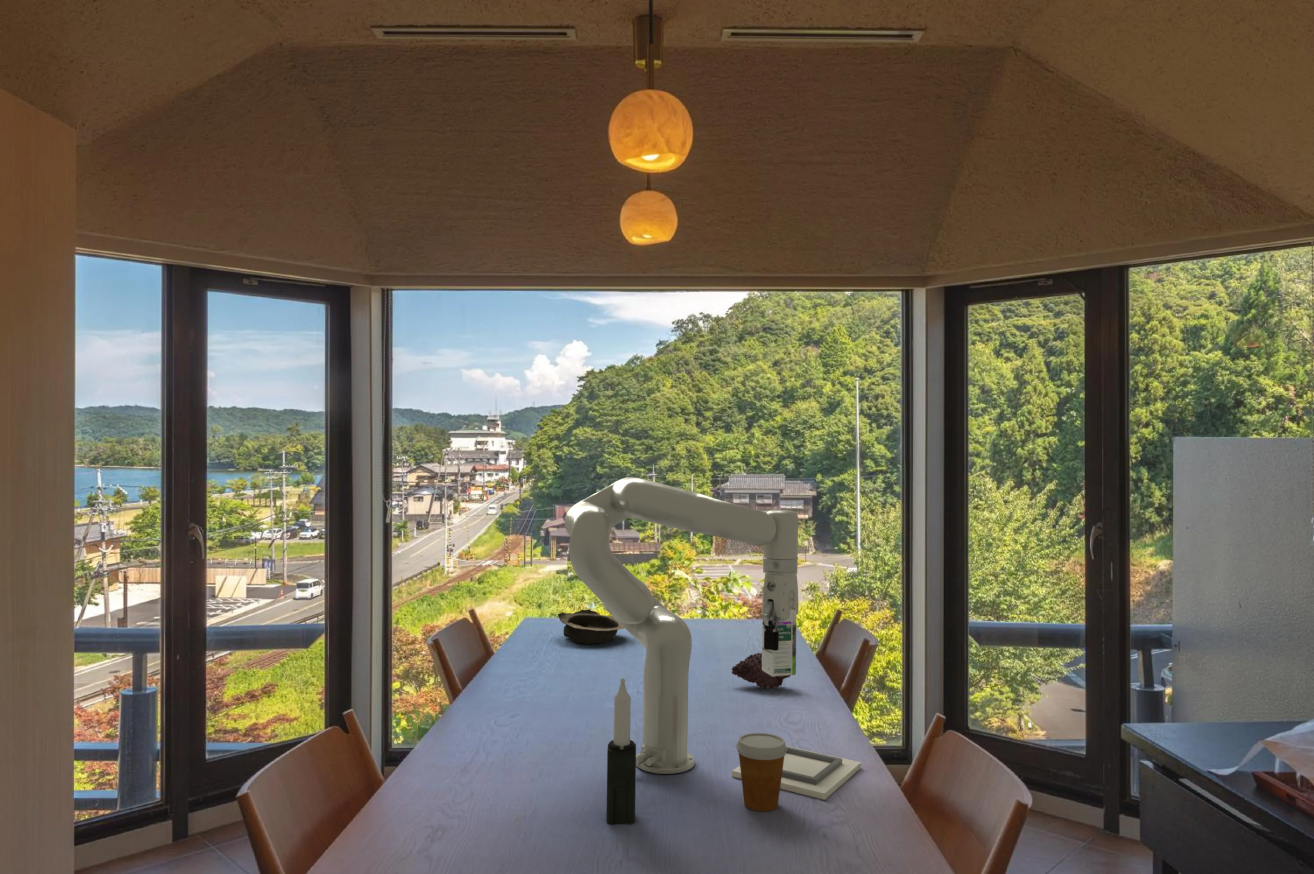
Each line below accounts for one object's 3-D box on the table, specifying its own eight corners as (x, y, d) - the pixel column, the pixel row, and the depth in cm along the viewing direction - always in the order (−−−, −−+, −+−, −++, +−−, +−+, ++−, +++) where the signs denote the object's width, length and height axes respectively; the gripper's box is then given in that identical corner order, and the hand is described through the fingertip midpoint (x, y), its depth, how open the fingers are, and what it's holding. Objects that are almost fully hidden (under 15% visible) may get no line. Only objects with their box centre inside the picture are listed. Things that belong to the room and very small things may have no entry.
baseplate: (824, 799, 161) (824, 788, 161) (731, 776, 172) (732, 765, 172) (861, 767, 177) (861, 757, 177) (774, 748, 188) (774, 738, 188)
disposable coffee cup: (725, 803, 158) (725, 739, 158) (757, 790, 165) (757, 728, 165) (765, 819, 151) (766, 752, 152) (796, 805, 158) (797, 740, 158)
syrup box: (772, 677, 182) (773, 609, 182) (760, 670, 187) (762, 604, 188) (796, 675, 183) (797, 608, 184) (784, 668, 189) (785, 603, 189)
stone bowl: (549, 633, 304) (551, 607, 304) (616, 635, 311) (618, 610, 312) (562, 648, 280) (565, 620, 281) (634, 649, 288) (637, 622, 288)
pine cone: (730, 691, 234) (731, 655, 234) (731, 681, 243) (732, 647, 244) (795, 694, 231) (795, 657, 232) (793, 684, 241) (794, 649, 241)
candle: (634, 812, 154) (636, 674, 154) (635, 824, 149) (637, 682, 149) (606, 812, 154) (608, 674, 154) (606, 824, 149) (608, 682, 149)
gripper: (780, 571, 177) (779, 656, 176) (810, 563, 191) (809, 641, 191) (748, 568, 180) (746, 651, 180) (779, 560, 195) (778, 637, 195)
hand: (778, 645), depth 186 cm, fingers closed on syrup box, 7 cm apart
